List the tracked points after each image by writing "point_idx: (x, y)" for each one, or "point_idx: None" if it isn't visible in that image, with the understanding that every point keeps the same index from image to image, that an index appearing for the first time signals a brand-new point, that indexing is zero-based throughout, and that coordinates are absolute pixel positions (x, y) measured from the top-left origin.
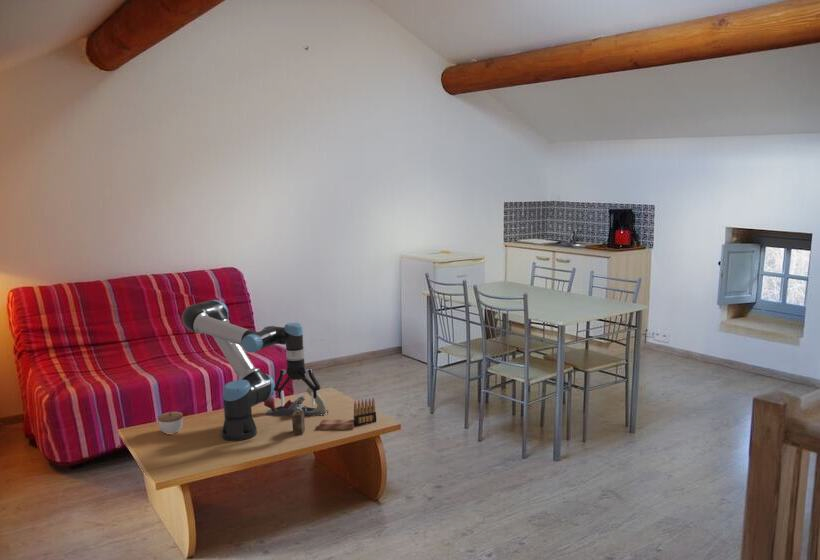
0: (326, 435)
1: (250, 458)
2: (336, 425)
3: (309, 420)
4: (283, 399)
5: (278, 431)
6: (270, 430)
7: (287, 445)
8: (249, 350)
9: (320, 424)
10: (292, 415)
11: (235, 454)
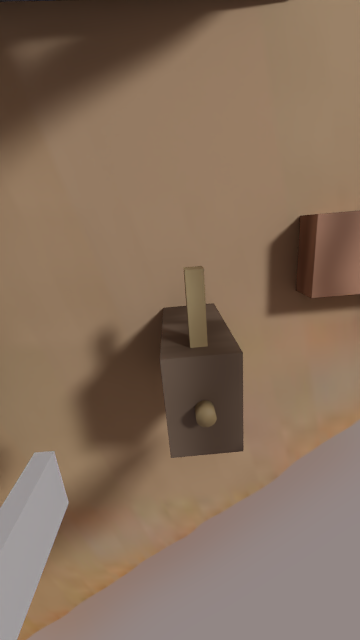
0: (342, 366)
1: (92, 580)
2: None
3: (199, 126)
4: (25, 556)
5: (73, 339)
6: (20, 329)
7: (186, 481)
8: None
9: (317, 296)
10: (174, 455)
11: None
